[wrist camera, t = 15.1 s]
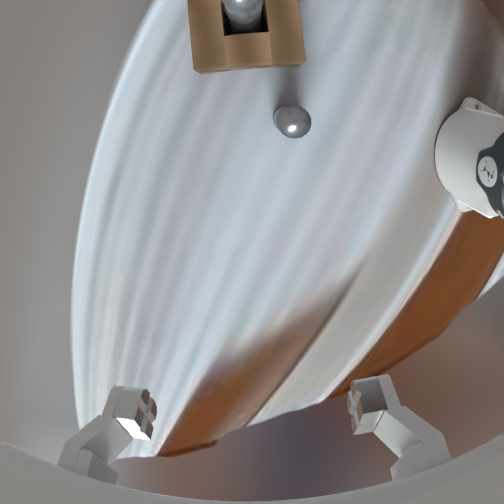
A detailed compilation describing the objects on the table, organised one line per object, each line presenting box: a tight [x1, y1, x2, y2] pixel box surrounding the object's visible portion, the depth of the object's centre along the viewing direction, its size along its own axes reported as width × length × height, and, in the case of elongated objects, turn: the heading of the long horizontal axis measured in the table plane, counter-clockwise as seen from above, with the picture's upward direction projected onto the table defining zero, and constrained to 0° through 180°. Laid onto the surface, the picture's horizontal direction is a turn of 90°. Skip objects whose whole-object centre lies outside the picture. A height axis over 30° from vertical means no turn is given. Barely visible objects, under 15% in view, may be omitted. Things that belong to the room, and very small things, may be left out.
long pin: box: [223, 0, 262, 35], centre depth 22 cm, size 4×4×14 cm
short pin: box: [273, 106, 311, 138], centre depth 31 cm, size 4×4×7 cm
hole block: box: [188, 0, 305, 74], centre depth 25 cm, size 12×12×5 cm
